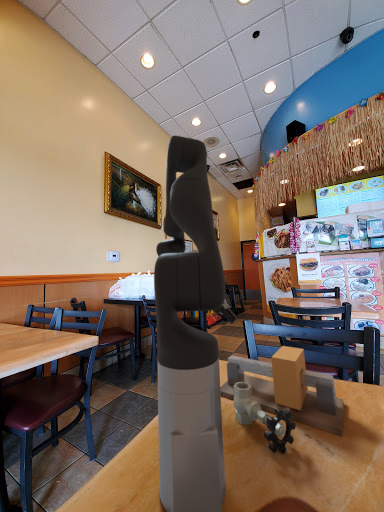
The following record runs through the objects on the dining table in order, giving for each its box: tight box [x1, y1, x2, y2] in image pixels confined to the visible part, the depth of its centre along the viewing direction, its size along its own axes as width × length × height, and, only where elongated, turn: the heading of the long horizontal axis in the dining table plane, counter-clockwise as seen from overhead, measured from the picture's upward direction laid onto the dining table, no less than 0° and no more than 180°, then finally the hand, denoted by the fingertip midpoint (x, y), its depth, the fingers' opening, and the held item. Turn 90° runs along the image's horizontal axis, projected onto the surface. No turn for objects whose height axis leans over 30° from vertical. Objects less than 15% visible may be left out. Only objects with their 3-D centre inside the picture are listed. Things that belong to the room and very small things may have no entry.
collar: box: [271, 345, 309, 410], centre depth 49 cm, size 5×10×10 cm, turn 143°
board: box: [220, 373, 345, 436], centre depth 50 cm, size 26×12×1 cm, turn 53°
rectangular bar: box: [226, 355, 337, 416], centre depth 51 cm, size 24×4×7 cm, turn 53°
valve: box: [233, 382, 297, 454], centre depth 40 cm, size 7×7×12 cm
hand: (235, 321), depth 58 cm, fingers closed
